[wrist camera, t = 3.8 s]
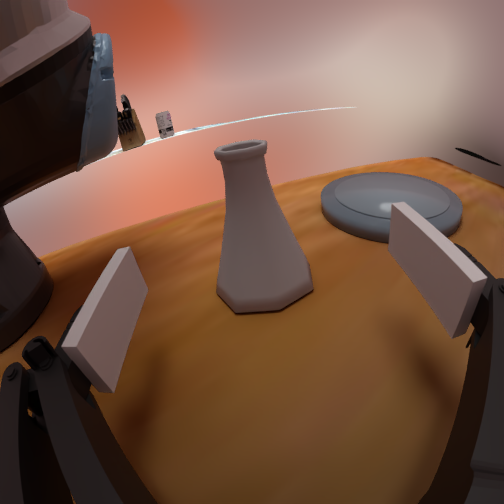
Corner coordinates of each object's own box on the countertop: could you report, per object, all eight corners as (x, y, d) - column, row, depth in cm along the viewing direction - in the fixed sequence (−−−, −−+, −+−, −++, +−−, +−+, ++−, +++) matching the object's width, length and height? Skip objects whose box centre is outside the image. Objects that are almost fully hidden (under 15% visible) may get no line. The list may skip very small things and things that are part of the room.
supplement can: (160, 138, 150) (154, 114, 143) (174, 134, 152) (168, 110, 144) (160, 139, 144) (155, 114, 136) (175, 135, 145) (169, 110, 138)
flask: (331, 296, 19) (324, 142, 13) (225, 328, 18) (180, 172, 12) (292, 246, 25) (278, 130, 20) (210, 269, 24) (179, 150, 19)
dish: (351, 257, 22) (351, 239, 21) (307, 191, 35) (305, 178, 35) (487, 230, 21) (490, 214, 20) (413, 178, 35) (413, 167, 34)
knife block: (119, 155, 127) (105, 98, 111) (129, 146, 157) (118, 101, 141) (139, 148, 128) (126, 91, 113) (146, 141, 158) (135, 95, 142)
